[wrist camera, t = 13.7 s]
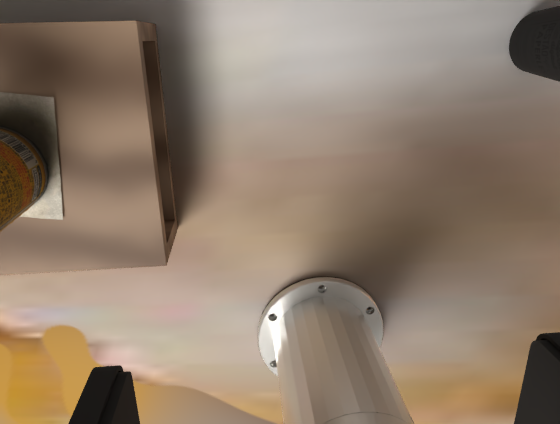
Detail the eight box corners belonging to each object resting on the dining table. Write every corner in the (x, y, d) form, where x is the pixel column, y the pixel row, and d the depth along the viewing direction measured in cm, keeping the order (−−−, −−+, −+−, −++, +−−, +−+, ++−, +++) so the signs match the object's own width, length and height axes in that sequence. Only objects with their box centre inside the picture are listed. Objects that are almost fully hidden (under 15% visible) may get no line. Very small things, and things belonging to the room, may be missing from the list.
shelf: (177, 228, 41) (166, 265, 34) (-57, 240, 40) (-116, 282, 33) (155, 24, 35) (136, 20, 28) (-123, 29, 33) (-213, 27, 27)
